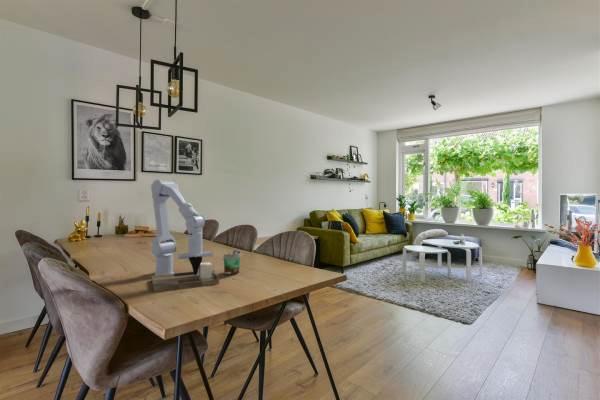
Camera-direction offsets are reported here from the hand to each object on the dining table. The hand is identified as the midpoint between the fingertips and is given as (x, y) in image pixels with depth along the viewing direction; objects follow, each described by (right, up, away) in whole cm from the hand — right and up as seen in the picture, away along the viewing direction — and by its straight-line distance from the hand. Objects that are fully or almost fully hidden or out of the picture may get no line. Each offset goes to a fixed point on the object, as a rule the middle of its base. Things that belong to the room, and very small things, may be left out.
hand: (195, 274), depth 137 cm
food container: (+14, -3, +14) cm, 20 cm away
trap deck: (-4, -3, -2) cm, 5 cm away
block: (+4, -1, +2) cm, 4 cm away
